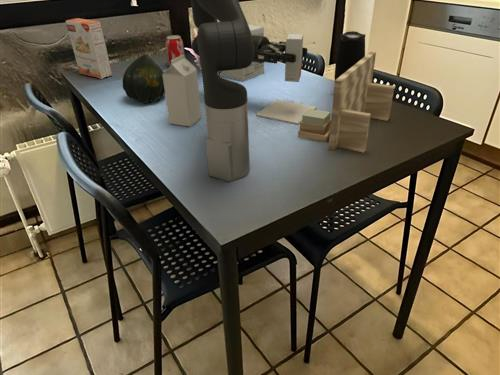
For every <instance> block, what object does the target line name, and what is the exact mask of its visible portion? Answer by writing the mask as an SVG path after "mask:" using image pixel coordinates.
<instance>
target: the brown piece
mask: <svg viewBox="0 0 500 375" xmlns="http://www.w3.org/2000/svg"><path fill="white" fill-rule="evenodd" d="M376 56H377V52H376V51H370V52H369V53H367V54H365V57H364V58H362V59H361V60H360V61H359V62H357V63H356V64H355V65H354V66H352V67H351V68H350V69H349V70H347V71H346V72H345V73H344V74H342V75H341V76H340V77H339V78H337V79H336V80H335V79H334V86H333V96H332V98H333V99H332V107H331V110H332V111H331V117H330V119H331V129H330V138H329V140H328V141H329V142H328V150H331V151H335V150H336V149H337V148H341V149H345V150H348V151H349V150H351V151H355V152H359V153H362V154H364V153H365V152H366V150H367V143H368V136H369V131H370V130H369V129H370V124H371V119H374V120H380V121H385V122H389V119H390V114H391V108H392V103H393V97H394V93H395V92H394V91H395V86H396V85H391V84H384V83H377V82H373V76H374V69H375V62H376Z"/></svg>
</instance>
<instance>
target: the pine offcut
mask: <svg viewBox="0 0 500 375" xmlns="http://www.w3.org/2000/svg"><path fill="white" fill-rule="evenodd" d="M330 129H331V128H330ZM330 129H329V131H328V132H327V133H326V134H325V135H319V134H314V133H308V132H303V131H300V129H298V130H297V137H298V138H301V139H304V140H305V139H306V140H310V141H311V140H312V141H315V142H318V143H319V142H320V143H324V144H326V143H327V142H328V141H329V140H330Z"/></svg>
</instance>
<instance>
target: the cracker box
mask: <svg viewBox="0 0 500 375" xmlns="http://www.w3.org/2000/svg"><path fill="white" fill-rule="evenodd" d="M65 24H66V28H67V32H68V35H69V39H70V43H71V47H72V49H73V50H72V51H73V53H74V57H75V58H74V59H75V61H76V66H77V69H78V72H79V74H80V73H82V74H86V75H89V76H93V77H97V78H104V77H106V76H109V75H112V76H113V72H112V69H111V63H110V59H109V55H108V50H107V44H106V41H105V37H104V32H103V27H102V23H101V21H100V20H99V21H98V20H91V19H85V18H79V17H77V18H71V19H66V20H65ZM89 76H88V77H89ZM93 77H92V78H93ZM97 78H96V79H97Z"/></svg>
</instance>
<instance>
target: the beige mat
mask: <svg viewBox="0 0 500 375" xmlns="http://www.w3.org/2000/svg"><path fill="white" fill-rule="evenodd" d="M308 109H314V110H318V107H317V106H315V105H309V104H303V103H299V102H292V101H287V100H282V99H276V100H275V101H273V102H272V103H270V104H269V105H267V106H266V107H264V108H263V109H262V110H260V111H258V113H256V114H255V116H256V117H259V118H264V119H269V120H273V121H278V122H284V123H289V124H293V125H297V126H298V125H300V122H301V121H302V115H303V114H304V113H305V112H306V111H307V110H308Z"/></svg>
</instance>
